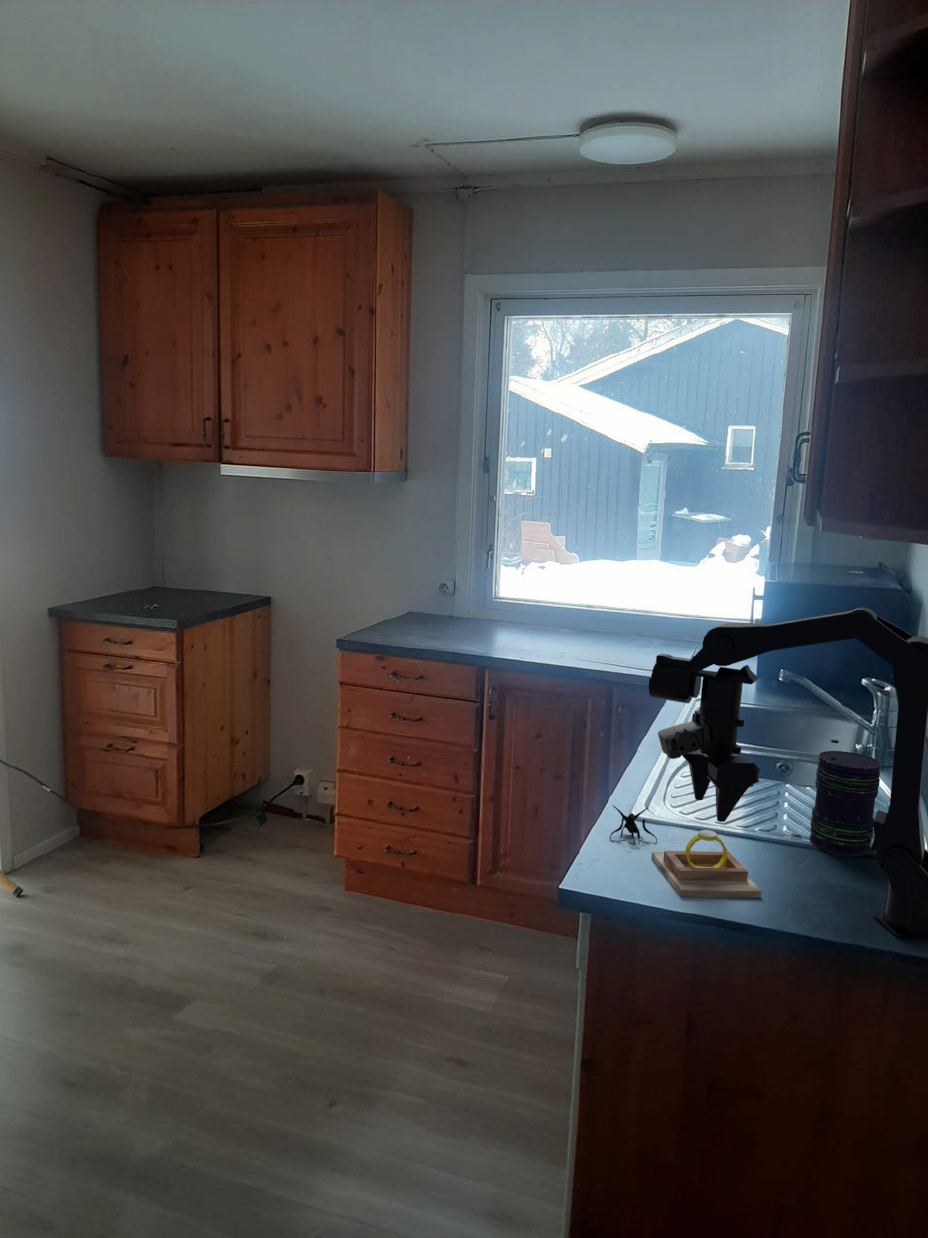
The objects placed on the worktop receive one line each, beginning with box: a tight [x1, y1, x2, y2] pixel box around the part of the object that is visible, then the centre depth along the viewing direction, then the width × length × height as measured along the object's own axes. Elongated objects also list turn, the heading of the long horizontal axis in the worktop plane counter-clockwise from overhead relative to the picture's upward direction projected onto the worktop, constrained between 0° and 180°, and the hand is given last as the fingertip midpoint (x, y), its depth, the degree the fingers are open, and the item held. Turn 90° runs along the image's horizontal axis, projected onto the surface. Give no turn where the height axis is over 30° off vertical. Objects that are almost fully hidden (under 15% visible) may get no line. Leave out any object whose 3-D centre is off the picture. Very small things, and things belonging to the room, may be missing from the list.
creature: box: [609, 805, 658, 846], centre depth 155 cm, size 8×5×8 cm
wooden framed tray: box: [650, 850, 763, 898], centre depth 141 cm, size 14×12×2 cm
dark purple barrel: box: [809, 739, 882, 857], centre depth 157 cm, size 10×10×18 cm
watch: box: [684, 829, 728, 868], centre depth 141 cm, size 6×3×6 cm, turn 88°
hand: (709, 810), depth 140 cm, fingers open, 9 cm apart
